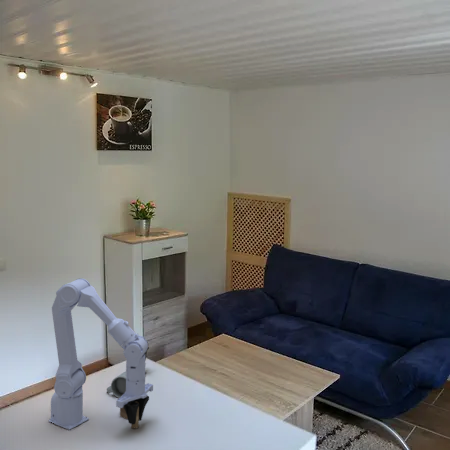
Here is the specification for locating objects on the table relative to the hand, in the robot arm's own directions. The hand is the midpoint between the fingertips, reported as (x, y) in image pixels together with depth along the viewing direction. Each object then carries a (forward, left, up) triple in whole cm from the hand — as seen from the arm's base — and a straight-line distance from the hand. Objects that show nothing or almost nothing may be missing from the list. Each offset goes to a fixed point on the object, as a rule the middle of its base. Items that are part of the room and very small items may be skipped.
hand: (135, 421), depth 146 cm
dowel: (0, 0, -2) cm, 2 cm away
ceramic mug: (-20, +16, -2) cm, 25 cm away
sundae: (-26, +33, -2) cm, 42 cm away
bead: (-7, +6, -2) cm, 9 cm away
